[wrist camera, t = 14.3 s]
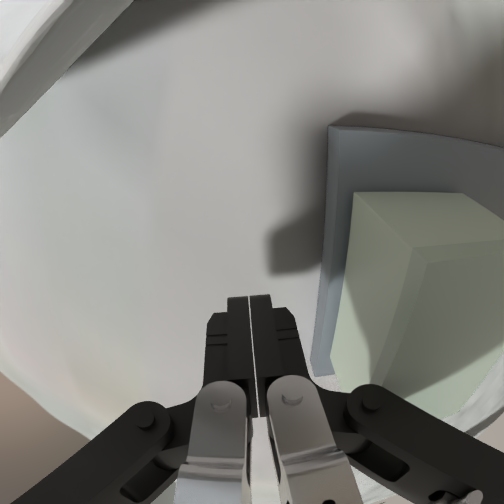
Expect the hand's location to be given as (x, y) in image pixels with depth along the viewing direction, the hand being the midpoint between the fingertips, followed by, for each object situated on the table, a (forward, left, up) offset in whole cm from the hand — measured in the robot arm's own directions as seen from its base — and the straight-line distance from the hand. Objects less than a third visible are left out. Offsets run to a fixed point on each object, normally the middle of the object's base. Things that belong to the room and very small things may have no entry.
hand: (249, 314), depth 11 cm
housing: (0, -6, -1) cm, 6 cm away
